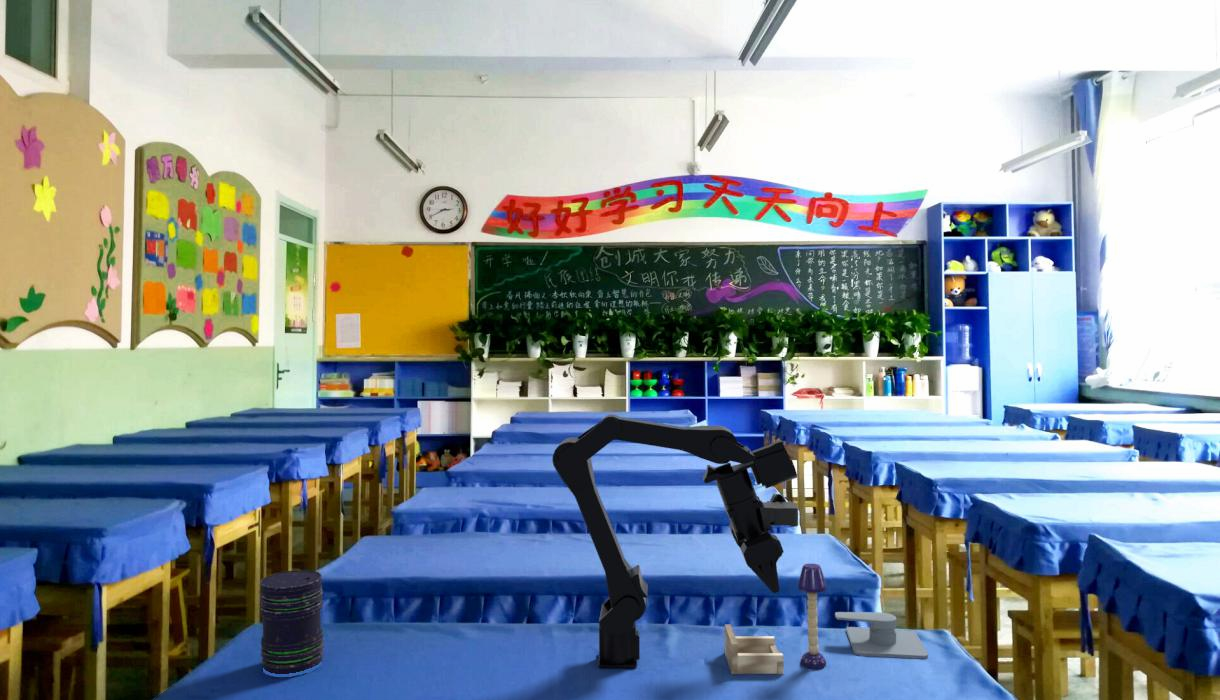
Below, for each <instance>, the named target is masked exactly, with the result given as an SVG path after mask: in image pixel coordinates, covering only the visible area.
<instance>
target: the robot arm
mask: <svg viewBox="0 0 1220 700" xmlns="http://www.w3.org/2000/svg"><path fill="white" fill-rule="evenodd" d="M613 441H621V442H628V443H634V444H640V445H644V446H645V445H646V446H654V447H659V448H665V449H672V450H679V451H681V452H685V453H688V454H690V455H692V456H695V457H698V458H700V459H702V460H705V461H709V462H710V463H713V464H718V465H719V466H716V467H715V466H712V465H710V464H707V465H706V470H705V472H704V474H702V480H703V482H704V484H710V483H713V482H714V481H715V484H716V486H717V489H718V492H719V494H720V497H721V500H722V503H723V506H724V507H723V508H724V509H725V512H726V514H727V516H728V519H729V522H730V523H729V525H728V527H729V530H730V533H731V536H732V538H733V539H734V541H735V543H736V545H737V546H738V547H739V548H740V551H741V554H742V557H743V560H744V562H745V563H746V565H747V567H748V568H749V569H751V571H752V572H753V573H754V574H755V575H756V576H757V578H758V579H759V580H761V582H762V583H763V584H764V585H765V586H766V587H767V588H768V589H769V590H770V592H772V594H774V595H775V594H777V593H779V592H780V584H779V583H780V582H779V575H778V566H777V563H778V560H779V559H780V558H781V557H782V556H783V554H784V551H785V550H784V549H783V546H782V543H781V541H780V539H779V537H778V536H777V535H775V534H774V533H771V532H770V531H772V530H773V526H789V527H791V528H792V527H798V526H799V506H798V505H797V504H796V503H795V502H793V501H791V500H788V501H786V499H785V497H784V495H783V493H782V494H781V493H773V494H772V496H771V498H770V500H767V501H765V502H763V500H762V499H761V500H760V497H759V496H758V495H757V492H756V490H755V487H754V485H753V482H752V479H751V476H750V473H749V470H748V469H750V471H751V472H752V475H753V476H752V477H753V479H754V480H755V483H756V485H757V486H759V485H761V486H762V487H764V488H765V489H766V490H767V489H769V488H772V487H776V486H777V485H780V484H784V483H786V482H789V481H792V480H794V479H797V478H798V473H797V470H796V467H795V463H794V461H793V459H791V458H790V455H789V453H788V451H787V449H786V447H785V443H784V442H783V440H781V439H778V440H776V441H773V442H772V443H770V444H768V445H766V446H762V447H759V448H757V449H754V450H752V451H751V449H750V448H749V447H748V446H747V445H745V446H744V445H743V444H741V443H740V442H738V440H737V438H736V436H735V435H734V433H733V432H732V431H731V430H730V429H729V428H728V427H726V426H724V425H697V426H695V425H694V426H678V425H674V424H673V425H672V424H667V423H660V422H654V421H648V420H641V419H637V418H636V419H635V418H629V417H622V416H619V415H617V414H607V415H605V416H604V417H603V418H602V419H601V420H600V421H599V422H597V423H596V424H594V425H593V426H592V427H590V428H588V429H587V430H586V431H584V432H583V433H581V434H580V435H579V436H577V437H567V438H565V439H564V440H562V441H561V442H560V443H559V444H558V446H557V447H556V448H555V449H554V452H553V454H552V464H553V467H554V469H555V471H556V472H557V474H558V475H559V477H560V479H561V481H563V483H564V485H565V486H566V488H568V490H569V491H570V492H571V494H572V495H573V497H574V498H575V500H576V503H577V505H578V508H579V510H580V513H581V516H582V518H583V521H584V523H585V526H586V528H587V531H588V533H589V536H590V538H591V541H592V543H593V546H594V549H595V550H596V553H597V555H598V557H599V561H600V563H601V565H602V568H603V570H604V574H605V580H606V581H605V582H606V587H607V593H608V597H609V598H607V599H606V600H605V601H604V602H603V603H602V604H601V609H600V615H599V618H598V619H599V620H598V658H597V659H598V661H597V666H598V668H637V667H638V661H639V660H640V657H641V656H640V647H641V646H640V631H639V630H637V621H638V620H640V619H641V618H642V617H643V616H644V614H645V611H646V604H647V603H646V602H647V600H646V599H647V598H648V588H649V587H648V586H649V585H648V583H647V582H646V581H645V580H644V578H643V575H642V570H641V567H640V565H639V564H637V565H636V566H634V567H632V566H631V565H630V563H629V562H628V561H627V559H626V558H625V555H624V553H623V550H622V548H621V545H620V543H619V541H618V538H617V536H616V533H615V530H614V528H613V525H612V523H611V520H610V518H609V516H608V513H607V510H606V507H605V505H604V502H603V500H602V499H601V496H600V493H599V491H598V488H597V485H596V480H595V474H594V468H593V467H594V466H593V462H592V457H593V456H595V455H596V454H597V453H599V452H600V451H601V450H602V449H604V448H605V447H606V446H607V445H609V444H610V443H612V442H613ZM730 462H734V463H738V464H734V465H732V464H731V463H730Z"/></svg>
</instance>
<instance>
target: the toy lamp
mask: <svg viewBox="0 0 1220 700" xmlns="http://www.w3.org/2000/svg"><path fill="white" fill-rule="evenodd" d="M797 587H798V590H800V591H801V592H803V593H806V597H807V600H806V605H807V610H806V614H807V620H806V621H807V622H806V623H807V634H808V637H807V641H808V647H807V648H808V651H807V652H805V653H804V654H803V655H802V656H801V659H800V664H801V665H802V666H803V667H805V668H808V669H816V670H817V669H822V668H824V667H827V666H826V665H827V660H826V658H825V656H824V655H823V654H822V653H820V652H819V650H820V649H819V636H818V634H819V628H818V624H819V623H818V622H819V621H818V617H817V616H818V609H817V607H818V600H817V598H818V593H819V594H820V593H824V592H825V591H826V590H827V583H826V580H825V576H824V573H823V570H822V567H821V565H820V564H816V563H805V564H803V565H802V568H801V571H800V576H799V580H798V584H797Z"/></svg>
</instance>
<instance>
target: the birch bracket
mask: <svg viewBox="0 0 1220 700" xmlns="http://www.w3.org/2000/svg"><path fill="white" fill-rule="evenodd" d="M724 654H725V658H726V660H727V664H728V668H729V670H730V672H731V675H739V674H740V675H741V674H743V675H745V674H746V675H747V674H748V675H749V674H757V675H758V674H767V675H769V674H771V675H773V674H774V675H784V672H785V671H784V669H785V668H784V666H785V665H784V663H785V661H784V654H783V653H782V652H779V650H778V647H777V646H776V638H775V636H773V635H772V636H771V635H770V636H769V635H764V636H763V635H762V636H761V635H760V636H759V635H753V636H752V635H747V636H746V635H744V636H743V635H742V636H741V635H738V636H736V635H735V633H734V630H733V628H732V625H731V624H730V623H729V624H724Z"/></svg>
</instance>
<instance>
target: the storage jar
mask: <svg viewBox="0 0 1220 700" xmlns="http://www.w3.org/2000/svg"><path fill="white" fill-rule="evenodd" d="M322 577H323V575H322V574H321V573H320V572H319V571H315V570H307V569H301V570H298V569H297V570H287V571H281V572H277V573H273V574H270V575H267V576H265V577H264V578H262V579H261V580H260V596H259V601H260V603H259V605H260V615H261V617H262V636H261V638H260V639H261V641H260V645H261V646H260V647H261V648H260V655H261V662H262V666H263V668H264V669H265V670H266V671H268V672H270V673H275V674H289V673H296V672H300V671H304V670H306V669H309V668H312V667H314V666H316V665H318V664H319V663H320V662H321V661H322V658H323V654H324V653H323V652H324V651H323V649H324V632H323V629H322V616H321V613H322V611H321V610H322V609H323V604H324V602H323V595H324V594H323V585H322V580H323V579H322Z"/></svg>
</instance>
